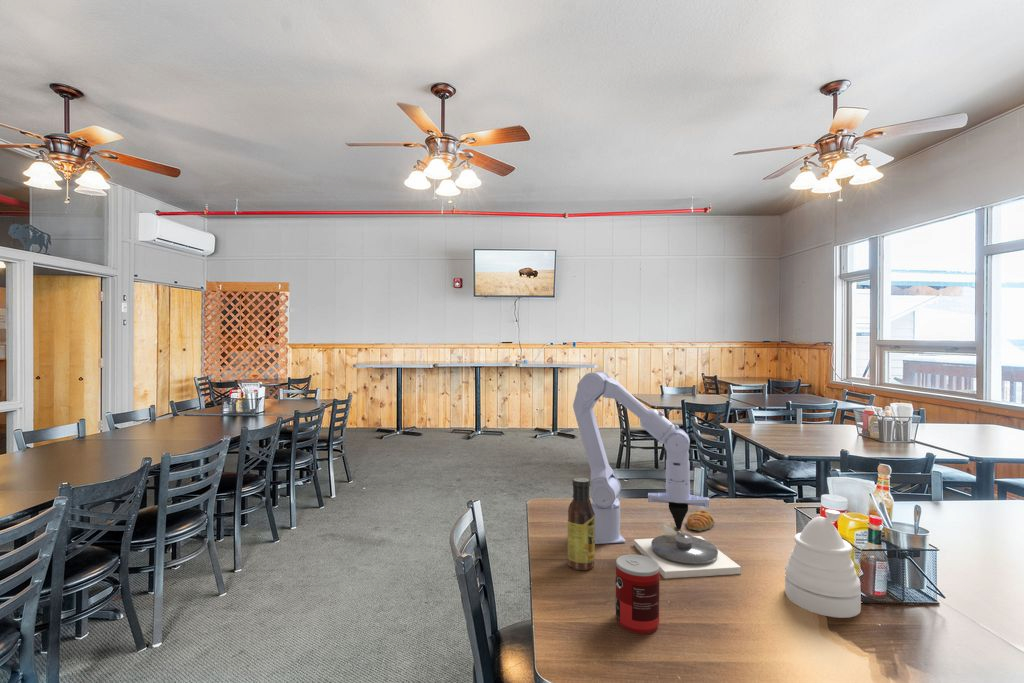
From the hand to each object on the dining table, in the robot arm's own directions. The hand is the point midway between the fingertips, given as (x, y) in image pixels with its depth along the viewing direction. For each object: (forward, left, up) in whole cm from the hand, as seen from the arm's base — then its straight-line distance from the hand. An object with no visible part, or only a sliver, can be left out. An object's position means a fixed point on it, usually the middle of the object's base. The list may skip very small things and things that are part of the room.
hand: (678, 532), depth 123 cm
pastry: (+13, +14, -5) cm, 20 cm away
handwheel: (-1, -5, -2) cm, 6 cm away
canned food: (-23, -30, -4) cm, 38 cm away
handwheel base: (-1, -5, -4) cm, 7 cm away
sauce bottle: (-27, -6, -4) cm, 28 cm away
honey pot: (+17, -27, -4) cm, 32 cm away
